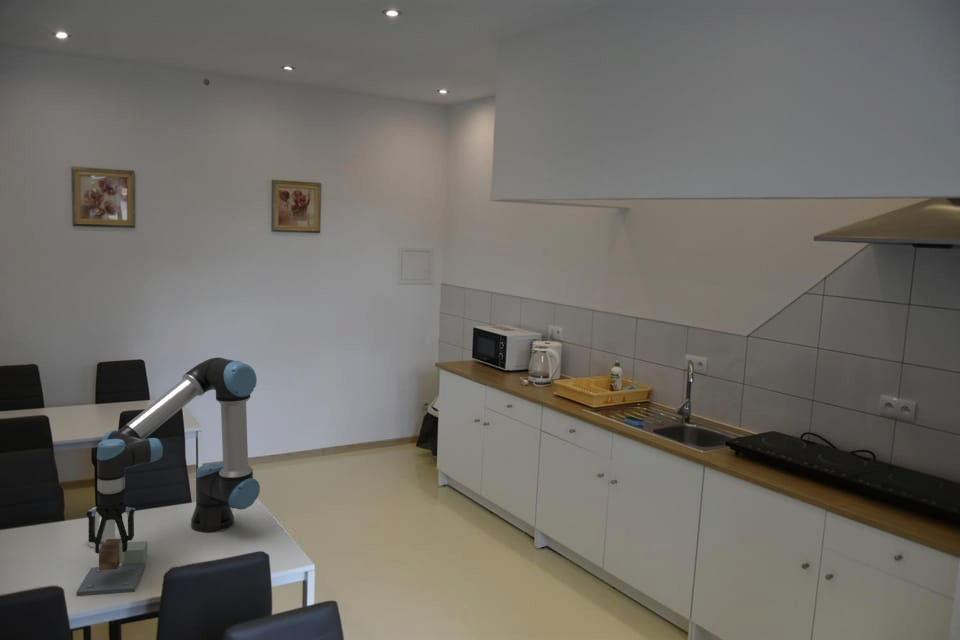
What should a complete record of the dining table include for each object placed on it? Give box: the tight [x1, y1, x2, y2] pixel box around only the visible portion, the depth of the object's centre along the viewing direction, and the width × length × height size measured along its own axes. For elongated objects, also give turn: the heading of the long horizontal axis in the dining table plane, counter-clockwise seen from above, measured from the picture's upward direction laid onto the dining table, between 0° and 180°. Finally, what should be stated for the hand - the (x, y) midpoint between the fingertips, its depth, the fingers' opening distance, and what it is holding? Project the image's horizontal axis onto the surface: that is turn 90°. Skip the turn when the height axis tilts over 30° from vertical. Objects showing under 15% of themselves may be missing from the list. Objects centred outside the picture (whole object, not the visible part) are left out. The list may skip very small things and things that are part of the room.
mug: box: [87, 506, 117, 548], centre depth 246 cm, size 12×8×12 cm
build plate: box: [75, 563, 146, 597], centre depth 223 cm, size 16×16×2 cm
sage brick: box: [121, 540, 149, 566], centre depth 235 cm, size 6×6×6 cm
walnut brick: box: [98, 538, 121, 570], centre depth 221 cm, size 5×9×6 cm, turn 14°
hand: (111, 561), depth 222 cm, fingers closed on walnut brick, 5 cm apart
